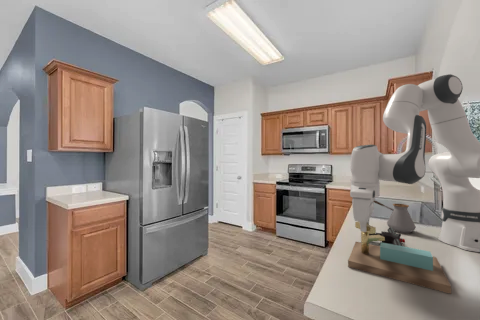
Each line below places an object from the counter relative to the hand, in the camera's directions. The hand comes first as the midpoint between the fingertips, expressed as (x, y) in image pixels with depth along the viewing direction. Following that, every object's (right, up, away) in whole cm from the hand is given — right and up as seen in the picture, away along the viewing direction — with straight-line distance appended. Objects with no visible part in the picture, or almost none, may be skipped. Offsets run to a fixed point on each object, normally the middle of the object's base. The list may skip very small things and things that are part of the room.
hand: (364, 229), depth 74 cm
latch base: (+7, -10, -5) cm, 13 cm away
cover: (+9, -8, -6) cm, 14 cm away
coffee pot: (+32, -11, +33) cm, 48 cm away
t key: (+3, -8, 0) cm, 9 cm away
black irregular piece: (+15, -11, +13) cm, 22 cm away
